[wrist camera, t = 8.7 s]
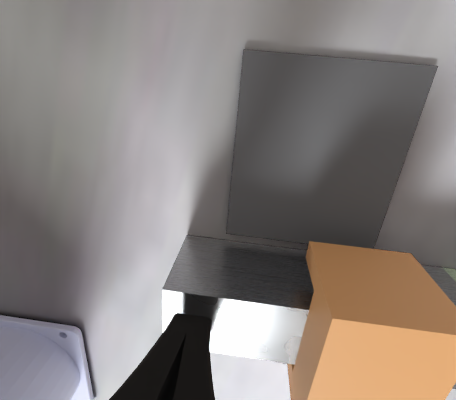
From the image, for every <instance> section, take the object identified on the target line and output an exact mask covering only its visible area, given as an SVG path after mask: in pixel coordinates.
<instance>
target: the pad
mask: <svg viewBox="0 0 456 400" xmlns="http://www.w3.org/2000/svg"><path fill="white" fill-rule="evenodd" d="M437 68H438V66H432V65H420V64H409V63H397V62H386V61H374V60H362V59H351V58H339V57H327V56H316V55H304V54H292V53H281V52H269V51H257V50H246V49H244V50H243V60H242V71H241V82H240V93H239V103H238V114H237V125H236V135H235V146H234V157H233V168H232V178H231V189H230V200H229V210H228V221H227V232H226V234H234V235H242V236H250V237H258V238H266V239H274V240H282V241H290V242H298V243H306V244H309V241H312V242H321V243H329V244H337V245H346V246H354V247H362V248H371V249H374V246H375V243H376V240H377V237H378V235H379V232H380V229H381V226H382V223H383V220H384V218H385V215H386V212H387V209H388V206H389V203H390V201H391V198H392V195H393V192H394V189H395V186H396V184H397V181H398V178H399V175H400V172H401V169H402V167H403V164H404V161H405V158H406V155H407V152H408V150H409V147H410V144H411V141H412V138H413V135H414V133H415V130H416V127H417V124H418V121H419V118H420V116H421V113H422V110H423V107H424V104H425V102H426V99H427V96H428V93H429V90H430V87H431V85H432V82H433V79H434V76H435V73H436V70H437Z"/></svg>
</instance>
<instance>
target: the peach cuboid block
mask: <svg viewBox="0 0 456 400" xmlns="http://www.w3.org/2000/svg"><path fill="white" fill-rule="evenodd" d="M306 261H307V265H308V269H309V273H310V277H311V281H312V285H313V289H314V293H313V297H312V300H311V304H310V308H309V312H308V316H307V319H306V323H305V327H304V331H303V335H302V339H301V342H300V346H299V350H298V354H297V358H296V361H295V365H293V364H287V365H288V375H289V385H290V396H291V400H445V399H446V397H447V396H448V394H449V393H450V391H451V389H452V388H453V386H454V385H455V383H456V306H455V305H454V303H453V302H452V301H451V300H450V299H449V298H448V296H447V295H446V294H445V293H444V292H443V291H442V289H441V288H440V287H439V286H438V285H437V283H436V282H435V281H434V280H433V279H432V278H431V276H430V275H429V274H428V273H427V272H426V271H425V269H424V268H423V267H422V266H421V265H420V263H419V262H418V261H417V260H416V259H415V258H414V256H413V255H412V254H411V253H404V252H396V251H387V250H379V249H371V248H362V247H354V246H346V245H337V244H329V243H321V242H312V241H309V245H308V249H307V254H306Z"/></svg>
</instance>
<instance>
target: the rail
mask: <svg viewBox="0 0 456 400" xmlns="http://www.w3.org/2000/svg"><path fill="white" fill-rule="evenodd" d="M306 254H307V250H301V249H293V248H285V247H277V246H269V245H261V244H253V243H245V242H237V241H229V240H221V239H214V238H206V237H198V236H190V235H187V236H186V238H185V240H184V243H183V245H182V247H181V249H180V252H179V254H178V256H177V258H176V260H175V263H174V265H173V267H172V269H171V271H170V274H169V276H168V278H167V280H166V282H165V285H164V287H163V289H162V309H163V332H164V330H165V329H166V327H167V326H168V324H169V322H170V321H171V319H172V317H173V316H174V314H176V313H182V314H189V315H196V316H204V317H209V318H210V319H211V320H212V323H211V336H210V352H214V353H220V354H227V355H234V356H240V357H247V358H253V359H260V360H267V361H273V362H280V363H287V364H293V365H295V361H296V358H297V354H298V350H299V346H300V342H301V339H302V335H303V331H304V327H305V323H306V319H307V316H308V312H309V308H310V304H311V300H312V297H313V293H314V289H313V285H312V281H311V277H310V273H309V269H308V265H307V261H306ZM421 266H422V267H423V268H424V269H425V271H426V272H427V273H428V274H429V275H430V276H431V278H432V279H433V280H434V281H435V282H436V283H437V285H438V286H439V287H440V288H441V289H442V291H443V292H444V293H445V294H446V295H447V296H448V298H449V299H450V300H451V301H452V302H453V303H454V305H455V306H456V269H451V268H443V267H435V266H427V265H421ZM453 389H456V383H455V385H454V386H453Z"/></svg>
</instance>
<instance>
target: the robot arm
mask: <svg viewBox="0 0 456 400" xmlns="http://www.w3.org/2000/svg"><path fill="white" fill-rule="evenodd" d="M211 323H212V320H211V319H210V318H209V317H204V316H196V315H189V314H182V313H176V314H174V316H173V317H172V319H171V321H170V322H169V324H168V326H167V327H166V329H165V330H164V332H163V333H162V335H161V336H160V337H159V339H158V340H157V342H156V343H155V345H154V346H153V347H152V348H151V350H150V351H149V352H148V354H147V355H146V356H145V358H144V359H143V360H142V362H141V363H140V364H139V365H138V367H137V368H136V369H135V370H134V371H133V373H132V374H131V375H130V376H129V377H128V379H127V380H126V381H125V382H124V383H123V385H122V386H121V387H120V388H119V389H118V390H117V392H116V393H115V394H114V395H113V396H112V397H111V398H110V399H109V400H215V397H214V390H213V382H212V373H211V362H210V336H211ZM0 400H94V397H93V391H92V386H91V380H90V375H89V369H88V364H87V359H86V353H85V348H84V342H83V337H82V332H81V330H80V329H79V328H77V327H75V326H70V325H63V324H56V323H50V322H43V321H36V320H30V319H23V318H16V317H10V316H3V315H0Z"/></svg>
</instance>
